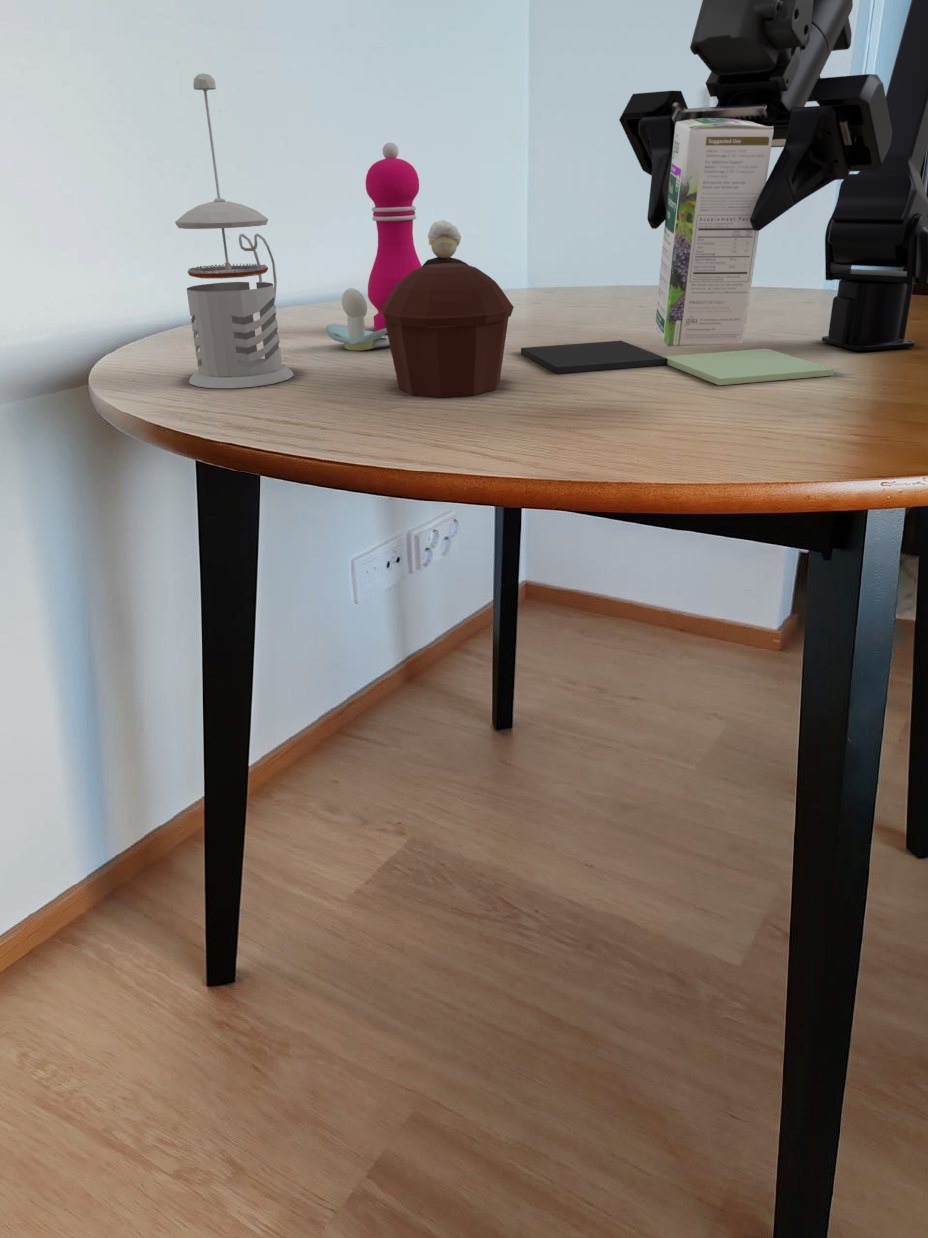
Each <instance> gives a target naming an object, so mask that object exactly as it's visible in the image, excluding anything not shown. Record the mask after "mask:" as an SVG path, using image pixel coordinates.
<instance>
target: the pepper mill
mask: <svg viewBox="0 0 928 1238" xmlns="http://www.w3.org/2000/svg"><path fill="white" fill-rule="evenodd" d="M399 151H400V150H399V148H398V145H397V144H396V143H395V142H391V141H390V142H387V143H385V144H384V145H383V147H382V155H383V158H382V159H380V160H377V161H376V162H374V163H372V165H371V166H370V167H369V169H368V170H367V173H366V177H365V192H366V194H367V196H368V197H369V198H370V200H371V201H372V202H373V205H374V207H372V208H371V211H372V212H373V213H372V218H371V219H372V221H373V222H375V224H376V230H377V247H376V249H377V250H376V254H375V258H374V261H373V265H372V268H371V271H370V274H369V278H368V282H367V297H368V300H369V302H370V303H371V305H372V306H373V307H374V308H375V309H376V310H377V313H376V314H374V316H373V329H374V332H376V331H378V330H381V329H384V328H386V325H385V319H384V316H383V314H382V312H381V309H382V307H383V305H384V304H385V302H386V300H387V299H388V297H389V295H390V293H391V292H392V290H393V289H394V287H395V286H396V284H397V283H398V282H399V281H401V280H402V279H403V278H404V277H405V276H407V275H408V274H409V273H410V272H412V271H413V270H415V269H418V268H420V267H422V266H423V264H422V263H421V261H420V259H419V256H418V254H417V250H416V247H415V243H414V234H413V232H414V231H413V229H414V220H416V219H417V215H416V210H417V207H416V206H415V205H413V204H414V203H413V202H414V201H415V199H416V197H417V196H418V194H419V191H420V179H419V175H418V172H417V170H416V168H415V167H414V166H413V165H412V164H411V163H410V162H409V161H406V160H405V159H402V158H398V156H399V154H400V153H399ZM385 335H388V334H387V333H386V334H385Z"/></svg>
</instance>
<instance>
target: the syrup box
mask: <svg viewBox="0 0 928 1238" xmlns="http://www.w3.org/2000/svg"><path fill="white" fill-rule="evenodd" d="M773 131H774V130H773V126H764V125H760V124H757V123H754V122H752V121H745V120H737V119H727V118H700V119H690V120H684V121H678V122H676V125H675V133H674V143H673V154H672V163H671V172H670V181H669V191H668V200H667V209H666V218H665V221H664V229H663V239H662V246H661V257H660V267H659V268H660V269H659V276H658V277H659V278H658V289H657V300H656V313H655V323H654V327H655V330H656V331H657V333H658V334H659V336H660V337H661V339H662V340H663V342H664V344H665V345H666V347H667V348H689V347H690V348H691V347H695V348H696V347H721V346H723V347H724V346H742V345H743V344H744V335H745V330H746V329H745V328H746V323H747V316H748V311H749V310H748V309H749V304H750V298H751V297H750V295H751V290H752V283H753V275H754V269H755V262H756V255H757V247H758V241H759V235H760V234H759V233H760V230H759V231H754V230H753V228H752V225H751V223H750V219H751V216H752V213H753V210H754V208H755V205H756V202H757V200H758V198H759V196H760V194H761V192H762V190H763V188H764V186H765V184H766V182H767V180H768V174H769V166H770V159H771V152H772V151H771V150H772V147H771V144H772V138H773Z"/></svg>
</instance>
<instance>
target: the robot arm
mask: <svg viewBox="0 0 928 1238" xmlns="http://www.w3.org/2000/svg"><path fill="white" fill-rule="evenodd" d="M853 5H854V1H853V0H702V1H701V4H700V8H699V13H698V17H697V19H696V23H695V27H694V31H693V35H692V38H691V42H690V46H689V49H690V51H691V53H692V54H693V55H697V56H698V57H699V58H700V60H701V61H702V62H703V63H704V65H705V66H706V67H707V69H708V70H709V71H710V74H709V75H708V77H707V79H706V81H705V86H706V89H707V91H708V94H709V96H710V97H711V98H714V97H716V99H717V103H716V105H715V106H706V107H692V108H691V107H690V108H689V107H688V105H687V102H686V100H685V96H684V94H683V92H682V90H661V91H652V92H651V91H650V92H638V93H637V92H636V93H632V95H631V96H630V98H629V100H628V101H627V103H626V106H625V107H624V109H623V112H622V114H621V115H620V117H619V119H618V120H619V123H620V125H621V127H622V129H623V132H624V133H625V136H626V137H627V140H628V143H629V144H630V146H631V148H632V151H633V152H634V155H635V157H636V159H637V161H638V164H639V166H640V168H641V170H642V171H643V172H644V173H646V174H648V175H650V176H651V179H650V180H651V181H650V188H649V191H650V192H649V197H648V208H647V222H648V224H649V226H650V229H652V230H656V229H658V228H660V226H661V225H662V224H663V223H665V218H666V209H667V200H668V191H669V181H670V172H671V163H672V154H673V143H674V133H675V125H676V122H678V121H684V120H690V119H700V118H727V119H737V120H745V121H752V122H754V123H757V124H760V125H764V126H773V130H774V131H773V138H772V144H771V148H782V151H781V152H780V154H779V156H778V158H777V160H776V162H775V164H774V166H773V168H772V170H771V172H770V174H769V176H768V177H767V180H766V184H765V186H764V188H763V190H762V192H761V194H760V196H759V198H758V200H757V202H756V205H755V208H754V210H753V213H752V216H751V219H750V223H751V225H752V228H753V230H754V231H759V232H760V231H762V230H763V229H764V228H766V227H767V226H768V225H769V224H771V223H772V222H774V221H775V220H777V219H778V218H779V217H780V216H782V215H783V214H784V213H786V212H787V211H788V210H790V209H791V208H793V207H794V206H796V205H797V204H799V203H800V202H802V201H803V200H804V199H807V198H808V197H810V196H811V195H812V194H815V193H816V192H818V191H819V190H821V189H822V188H824V187H825V186H827V185H829V184H831V183H832V182H835V181H837V180H839V181H841V180H842V181H841V183H840V184H839V185H840V186H839V190H838V191H839V192H838V196H837V200H836V203H835V206H834V210H833V212H832V213H831V216H830V218H829V220H828V222H827V225H826V229H825V235H824V259H825V260H824V261H825V264H824V266H825V268H824V269H825V271H824V272H825V281H838V287H837V293H836V296H834V297H833V298H832V306H831V312H830V320H829V326H828V327H829V328H828V335H824V336H822V337H821V342H823V343H827V344H831V345H834V346H838V347H841V348H846V349H849V350H853V351H856V352H857V351H858V352H863V351H876V350H877V351H878V350H887V349H901V348H912V347H915V344H916V343H915V341H914V340H910V339H905V338H906V331H907V325H908V320H909V315H910V314H909V313H910V307H911V301H912V295H913V290H914V286H915V285H916V284H917V285H919V284H928V196H927V192H926V189H925V187H924V184H923V180H922V177H921V171H922V167H923V163H924V160H925V156H926V152H927V149H928V0H911V1H910V4H909V8H908V12H907V16H906V20H905V23H904V27H903V30H902V34H901V35H902V36H901V38H900V42H899V46H898V50H897V53H896V57H895V61H894V64H893V67H892V72H891V75H890V79H889V83H888V87H887V91H886V90H885V87H884V83H883V81H882V80H881V79H880V77H879V75H878V74H873V73H865V74H854V75H842V76H829V77H821V74H822V72H823V70H824V68H825V66H826V63H827V61H828V60H829V57H830V56H831V53H832V52H835V51H836V52H837V51H844V50H845V51H847V50H849V49H850V48H851V46H852V35H853V33H852V27H851V23H850V18H849V17H850V15H851V12H852V11H853V7H854V6H853ZM885 91H886V92H885ZM810 102H816V103H817V104H818V105H813V106H812V105H810V106H806V104H807V103H810ZM851 172H857V173H851ZM852 266H855V267H856V266H857V267H879V268H906V271H903V270H879V269H857V268H852Z"/></svg>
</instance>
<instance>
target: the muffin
mask: <svg viewBox="0 0 928 1238" xmlns="http://www.w3.org/2000/svg"><path fill="white" fill-rule="evenodd" d="M422 266H423V265H422ZM514 308H515V307H514V305H513V304H512V302H511V301H510V300H509V298H508V297H507V295H506V293H505V292H504V291H503V289H502V288H501V286H499V284H498V283H497V281H495V280H494V279H493V278H492V277H490V275H488V274H486V273H485V272H484V271H482V270H480V269H479V268H477V267H475V266H472V265H469V264H468V265H466V264H460V263H441V264H430V265H426V266H423V267H420V268H418V269H415V270H413V271H412V272H410V273H409V274H408V275H407V276H405V277H404V278H403V279H402V280H401V281H399V282H398V283H397V284H396V286H395V287H394V289H393V290H392V292H391V293H390V295H389V297H388V299H387V300H386V302H385V304H384V305H383V307H382V309H381V312H382V314H383V316H384V319H385V325H386V329H387V334H386V335H387V337H388V339H389V344H390V345H389V348H390V353H391V357H392V361H393V367H394V372H395V376H396V380H397V384H398V390H400V391H402V392H405V393H407V394H409V395H411V396H417V397H419V396H420V397H433V398H440V399H441V398H452V397H468V396H469V397H470V396H471V397H472V396H476V395H477V396H478V395H480V394H483V393H488V392H491V391H496V390H497V387H498V385H499V384H500V382H501V377H502V376H501V375H502V366H503V361H504V352H505V346H506V338H507V331H508V324H509V318H510V317H512V313H513V311H514Z"/></svg>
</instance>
